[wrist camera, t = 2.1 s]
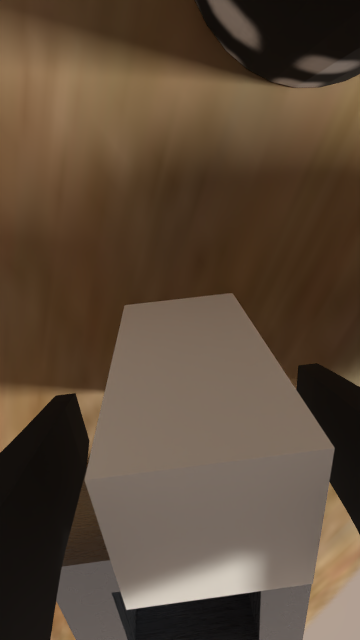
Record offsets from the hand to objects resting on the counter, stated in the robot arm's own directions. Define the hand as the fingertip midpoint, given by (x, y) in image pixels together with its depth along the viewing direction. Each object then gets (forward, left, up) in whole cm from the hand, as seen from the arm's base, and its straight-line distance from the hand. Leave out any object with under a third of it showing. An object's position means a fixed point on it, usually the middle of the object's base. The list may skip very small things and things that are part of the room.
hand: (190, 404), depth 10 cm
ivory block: (0, 0, -4) cm, 4 cm away
